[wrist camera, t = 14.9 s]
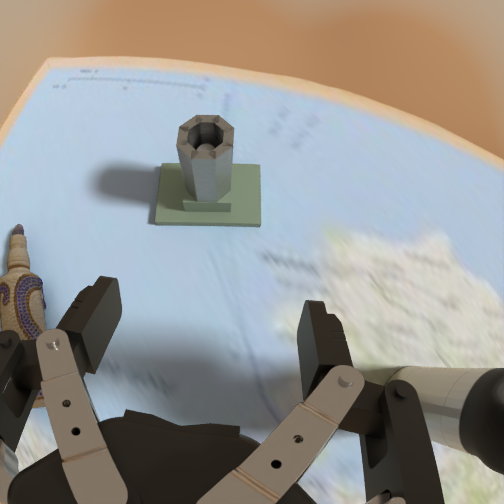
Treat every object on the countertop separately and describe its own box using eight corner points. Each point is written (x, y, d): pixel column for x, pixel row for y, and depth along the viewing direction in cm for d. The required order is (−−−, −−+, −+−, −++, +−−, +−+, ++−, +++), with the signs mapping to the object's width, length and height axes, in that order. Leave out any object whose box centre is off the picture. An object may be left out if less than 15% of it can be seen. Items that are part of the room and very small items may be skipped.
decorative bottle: (72, 403, 35) (48, 411, 29) (31, 405, 34) (5, 411, 28) (49, 225, 42) (27, 208, 35) (12, 236, 41) (-11, 221, 34)
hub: (231, 163, 41) (234, 115, 32) (230, 203, 40) (232, 160, 30) (188, 162, 41) (180, 114, 31) (184, 201, 40) (174, 159, 30)
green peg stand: (259, 168, 46) (269, 121, 36) (260, 226, 44) (271, 189, 33) (163, 167, 45) (149, 120, 34) (156, 225, 43) (137, 187, 32)
